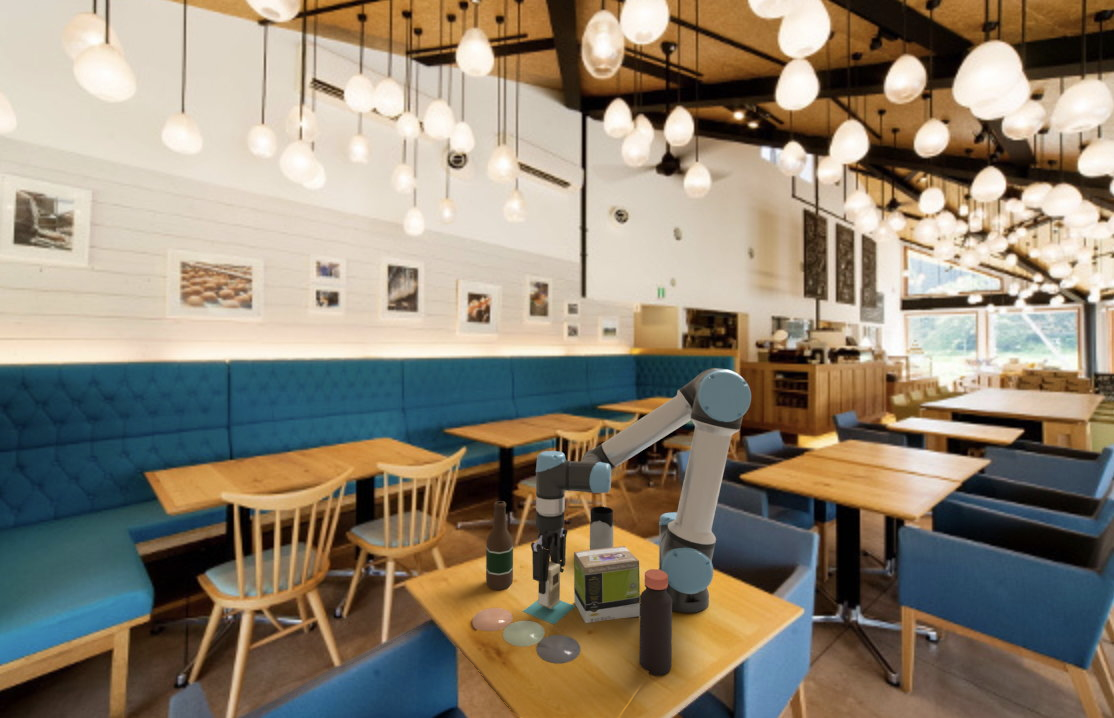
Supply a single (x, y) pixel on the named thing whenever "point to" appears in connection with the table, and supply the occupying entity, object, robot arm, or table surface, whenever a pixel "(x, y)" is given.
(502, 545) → the beer bottle
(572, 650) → the grey flat round disc
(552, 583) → the letter block
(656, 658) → the vinegar
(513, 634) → the saucer middle
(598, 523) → the black and grey mug
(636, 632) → the table surface
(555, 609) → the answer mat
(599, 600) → the coffee pod box
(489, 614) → the pink round disc
